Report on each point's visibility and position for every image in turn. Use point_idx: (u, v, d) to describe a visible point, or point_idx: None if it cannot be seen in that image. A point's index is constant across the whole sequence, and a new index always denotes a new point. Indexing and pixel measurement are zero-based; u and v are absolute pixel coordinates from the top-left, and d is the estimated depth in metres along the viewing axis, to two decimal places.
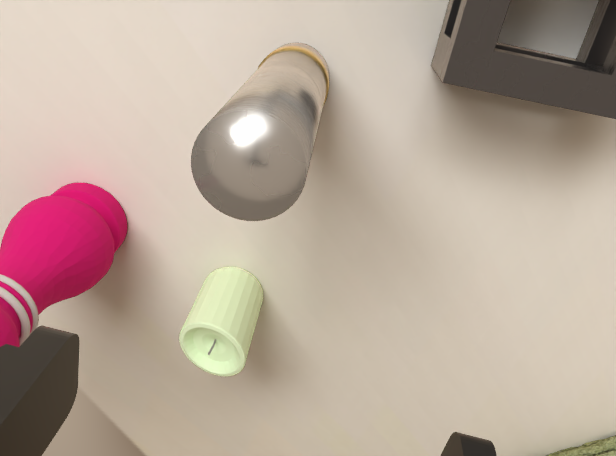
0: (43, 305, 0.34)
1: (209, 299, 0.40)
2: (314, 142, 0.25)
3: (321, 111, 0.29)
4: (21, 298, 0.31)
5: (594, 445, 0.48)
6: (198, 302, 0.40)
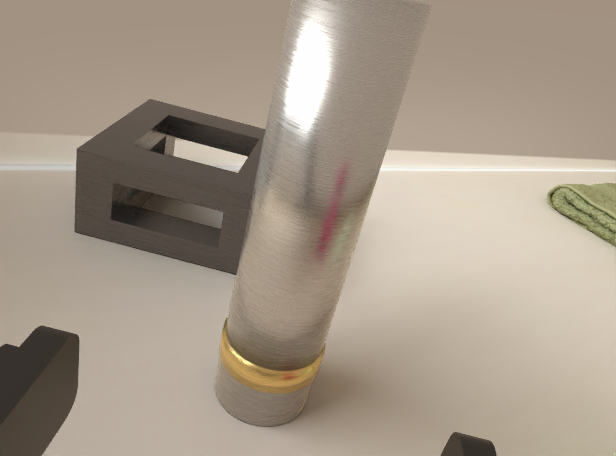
0: None
1: None
2: None
3: None
4: None
5: (581, 220, 0.53)
6: None
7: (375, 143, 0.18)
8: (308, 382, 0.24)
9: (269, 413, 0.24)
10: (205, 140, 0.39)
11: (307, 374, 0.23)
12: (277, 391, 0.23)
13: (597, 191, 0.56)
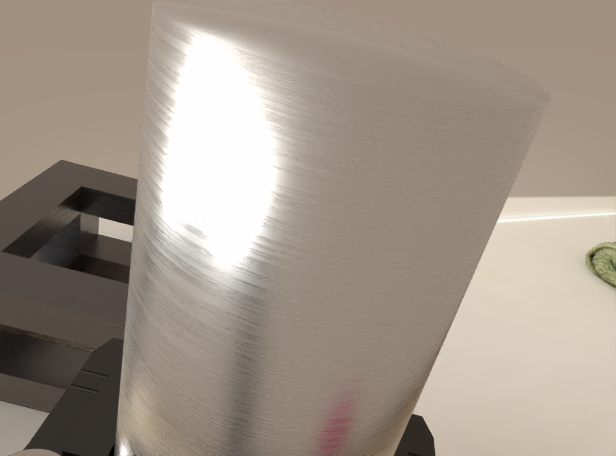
0: None
1: None
2: None
3: None
4: None
5: None
6: None
7: (384, 443, 0.07)
8: None
9: None
10: None
11: None
12: None
13: None
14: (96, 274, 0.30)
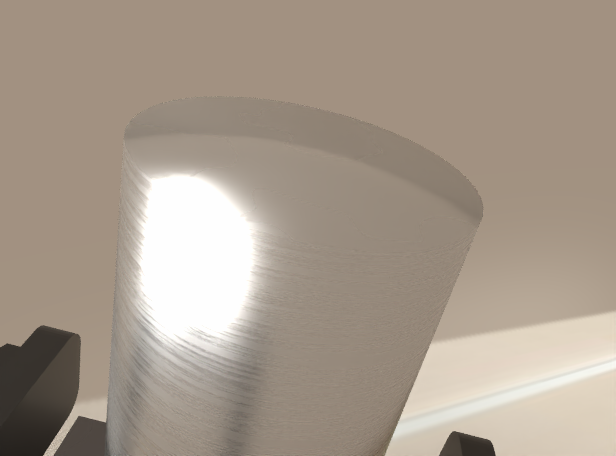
0: None
1: None
2: None
3: None
4: None
5: None
6: None
7: None
8: None
9: None
10: None
11: None
12: None
13: None
14: None
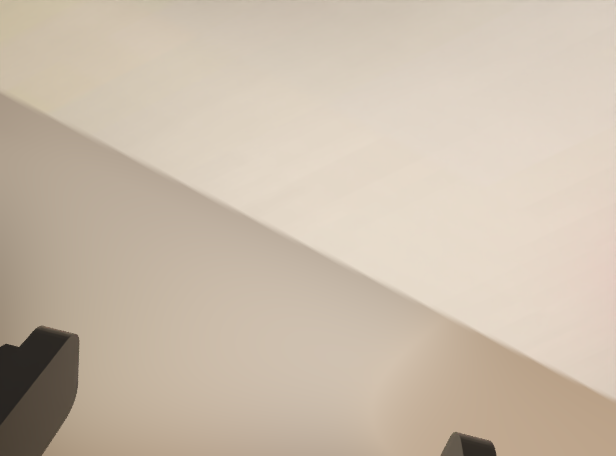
0: None
1: None
2: None
3: None
4: None
5: None
6: None
7: None
8: None
9: None
10: None
11: None
12: None
13: None
14: None
